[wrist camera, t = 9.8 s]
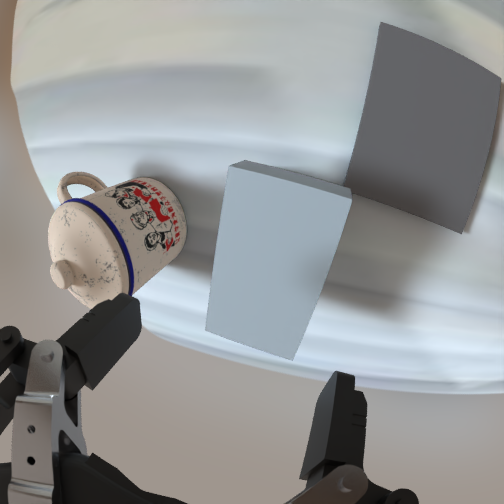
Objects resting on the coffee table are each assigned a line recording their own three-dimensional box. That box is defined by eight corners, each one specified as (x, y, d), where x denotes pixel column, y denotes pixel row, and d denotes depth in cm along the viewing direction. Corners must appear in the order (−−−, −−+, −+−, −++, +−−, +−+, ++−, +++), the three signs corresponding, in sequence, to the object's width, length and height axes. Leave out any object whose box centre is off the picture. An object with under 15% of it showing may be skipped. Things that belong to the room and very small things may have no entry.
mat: (379, 26, 14) (381, 21, 13) (495, 79, 12) (501, 78, 11) (342, 187, 20) (343, 190, 19) (457, 229, 18) (461, 234, 17)
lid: (245, 160, 16) (228, 165, 14) (350, 188, 15) (352, 199, 13) (219, 309, 21) (205, 330, 19) (299, 335, 20) (292, 360, 18)
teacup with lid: (210, 232, 25) (125, 307, 14) (154, 278, 29) (80, 347, 19) (130, 131, 23) (22, 152, 13) (88, 192, 27) (1, 231, 17)
